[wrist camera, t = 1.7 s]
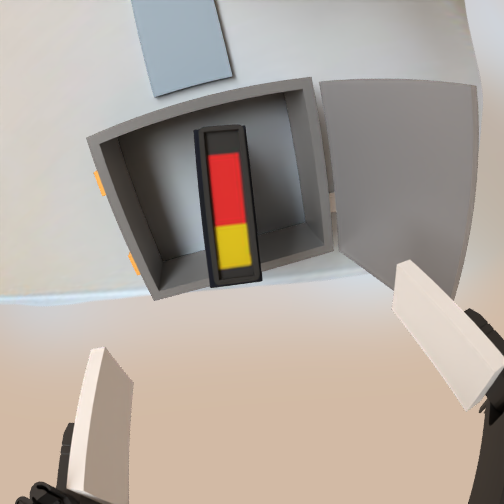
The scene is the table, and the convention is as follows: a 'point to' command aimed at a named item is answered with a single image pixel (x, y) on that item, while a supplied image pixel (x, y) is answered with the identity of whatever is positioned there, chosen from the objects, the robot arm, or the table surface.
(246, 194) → the magazine
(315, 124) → the case
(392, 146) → the lid
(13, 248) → the table surface
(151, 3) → the mat
